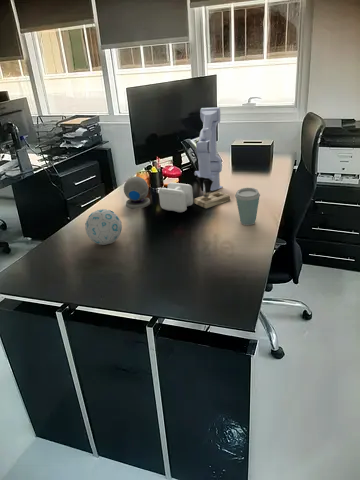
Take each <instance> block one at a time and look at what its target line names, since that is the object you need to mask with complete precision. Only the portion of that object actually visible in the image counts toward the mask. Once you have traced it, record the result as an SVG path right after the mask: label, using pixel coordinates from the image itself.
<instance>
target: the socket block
mask: <svg viewBox="0 0 360 480" xmlns="http://www.w3.org/2000/svg"><path fill="white" fill-rule="evenodd" d="M228 201H229V202H230V201H231V195H230V194H227V193H225V192H221V191H219V190H217V191H216V190H215V191H212V192H209V197H203V195H202V196H198V197H196V198H193V204H196V205H197V206H199V207H201V208H204V209H209V208H211V207H214V206H217V205H220V204H223V203H225V202H226V203H227V202H228Z"/></svg>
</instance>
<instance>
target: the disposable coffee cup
mask: <svg viewBox="0 0 360 480" xmlns="http://www.w3.org/2000/svg"><path fill="white" fill-rule="evenodd" d="M234 197H235V201H236V206H237V210H238V217H239V221H240V224H242V225H243V226H252V225H254V224H255V223H256V221H257V217H258V216H257V215H258V209H259V203H260V197H261V193H260V192H259V190H258V189H257V188H255V187H243V188H239V189H238V190H237V191H236V193H235V196H234Z"/></svg>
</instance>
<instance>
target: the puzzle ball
mask: <svg viewBox="0 0 360 480" xmlns="http://www.w3.org/2000/svg"><path fill="white" fill-rule="evenodd" d="M122 224H123V223H122V221H121V219H120V217H119V215H117V214H116V213H115V212H114V211H113V210H110V209H107V208H102V209H97V210H95V211H93V212H91V213H90V214H89V216H88V217H87V219H86V221H85V233H86V234H87V237H88V238H89V240H91V241H92V242H93V243H94V244H95V243H96V244H97V245H100V246H106V245H110V244H112V243H114V242H115V241H116V240H118V238H119V237H120V236H121V233H122V228H123V225H122Z"/></svg>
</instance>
